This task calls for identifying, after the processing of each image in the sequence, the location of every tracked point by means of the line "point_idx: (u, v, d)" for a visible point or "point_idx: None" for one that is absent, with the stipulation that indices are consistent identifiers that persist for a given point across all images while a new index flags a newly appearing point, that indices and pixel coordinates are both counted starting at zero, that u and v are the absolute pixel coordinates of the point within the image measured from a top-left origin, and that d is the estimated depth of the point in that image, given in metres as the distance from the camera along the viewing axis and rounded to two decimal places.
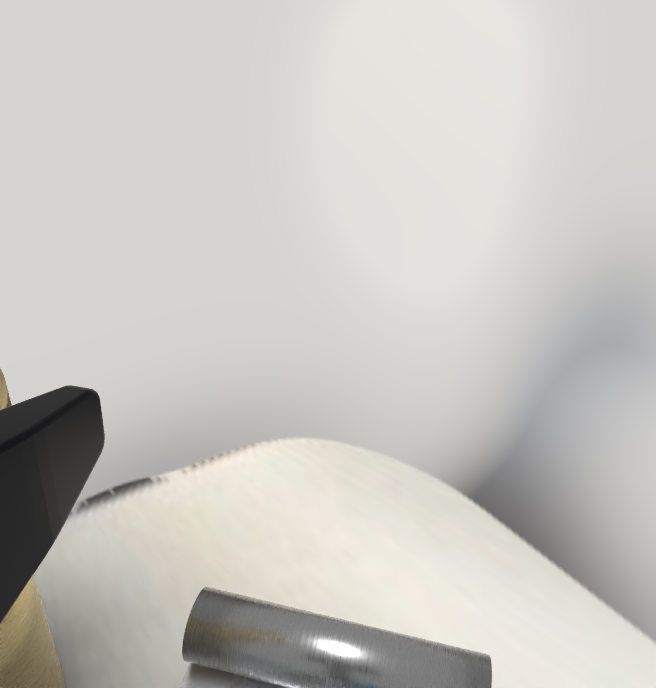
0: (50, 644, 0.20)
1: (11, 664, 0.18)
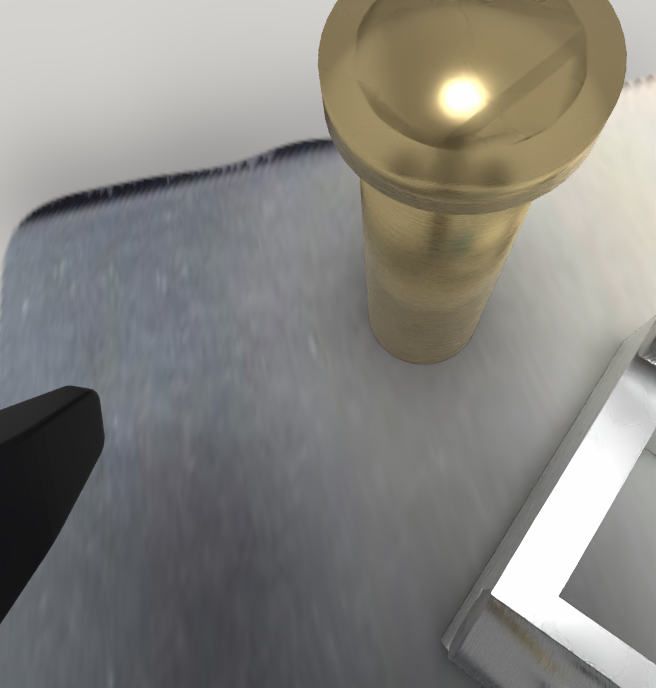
0: None
1: (472, 312, 0.18)
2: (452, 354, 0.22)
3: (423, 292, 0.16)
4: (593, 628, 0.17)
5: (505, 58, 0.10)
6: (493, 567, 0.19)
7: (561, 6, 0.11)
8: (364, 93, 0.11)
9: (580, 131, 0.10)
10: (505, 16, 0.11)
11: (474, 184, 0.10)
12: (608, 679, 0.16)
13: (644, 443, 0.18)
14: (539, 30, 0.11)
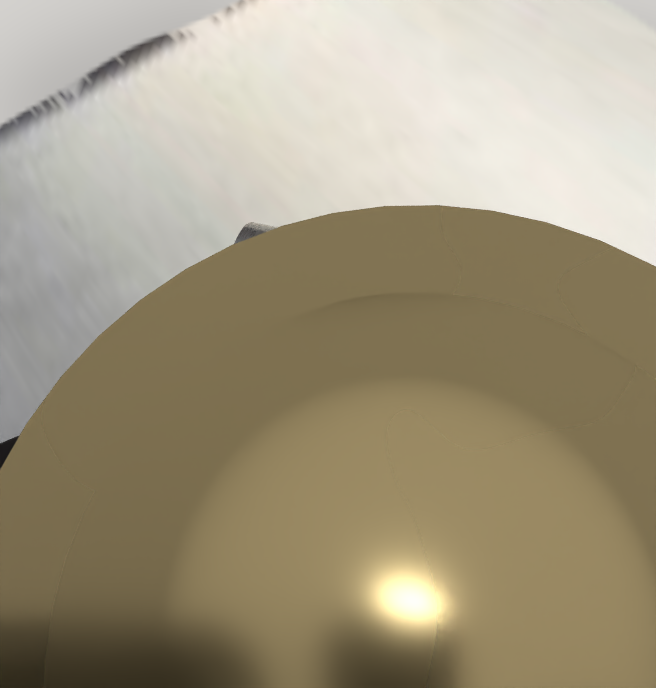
0: None
1: None
2: None
3: None
4: None
5: None
6: None
7: None
8: None
9: None
10: (540, 513, 0.03)
11: None
12: None
13: None
14: (653, 582, 0.03)
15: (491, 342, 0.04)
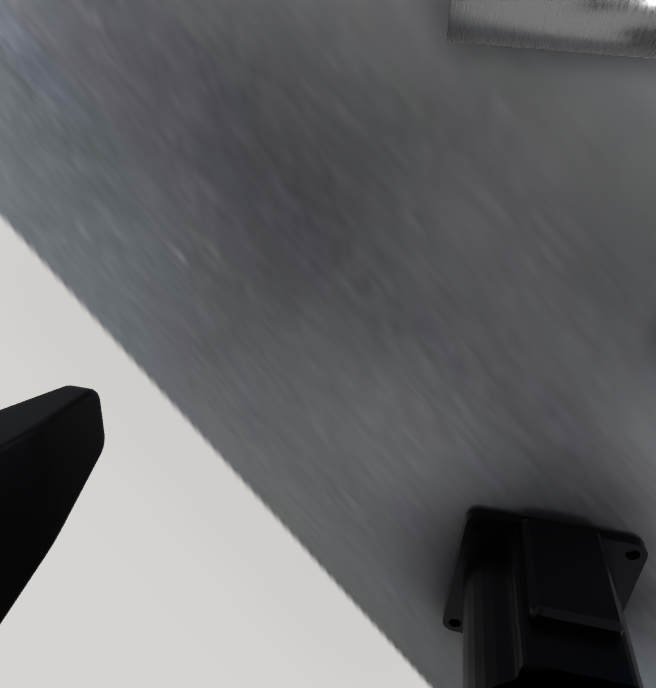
0: None
1: None
2: None
3: None
4: None
5: None
6: None
7: None
8: None
9: None
10: None
11: None
12: None
13: None
14: None
15: None
